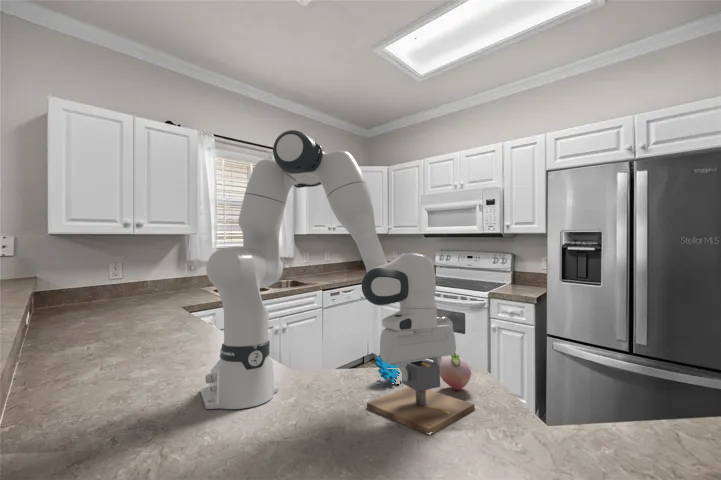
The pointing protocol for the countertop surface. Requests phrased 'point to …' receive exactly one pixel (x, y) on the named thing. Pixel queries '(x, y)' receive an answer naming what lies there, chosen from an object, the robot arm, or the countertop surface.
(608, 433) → the countertop surface
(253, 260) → the robot arm
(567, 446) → the countertop surface
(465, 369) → the decorative fruit
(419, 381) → the square tunnel box
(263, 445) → the countertop surface
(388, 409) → the brown square board
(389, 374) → the gear
